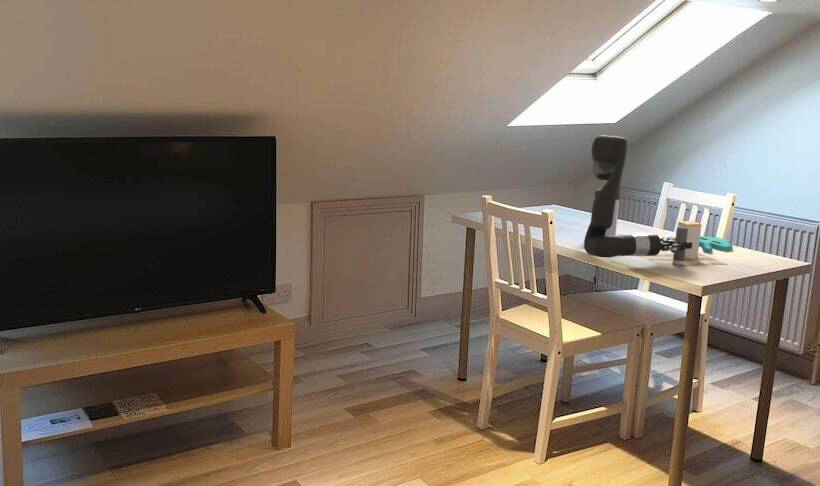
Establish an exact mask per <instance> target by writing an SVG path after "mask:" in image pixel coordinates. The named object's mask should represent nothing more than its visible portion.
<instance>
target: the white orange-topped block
mask: <svg viewBox="0 0 820 486" xmlns="http://www.w3.org/2000/svg"><path fill="white" fill-rule="evenodd" d="M677 222H678V223H677V227H685V228H688V233H687V241H686V242H692V248H691V249H686V250H685V257H698V253H699V247H700V246H699V241H700V236H701V232H702V223H701V222H696V221H693V220H690V221H689V220H686V221H682V220H681V221H677Z"/></svg>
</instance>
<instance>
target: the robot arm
mask: <svg viewBox="0 0 820 486" xmlns="http://www.w3.org/2000/svg"><path fill="white" fill-rule="evenodd" d="M627 152H628V140H627V138H626V137H623V136H616V135H605V134H601V135H597V136H596V137H595V138H594V140H593V141H592V145H591V158H592V161H593V166H592V172H593V176H594V177H595V178H596V179H597V180H601V181H606V182H605V184H604V185H603V186H602V187H600V188H598V189H597V188H596V190H595V191H594V200H593V202H592V209H591V215H590V216H591V217H590V223H589V225H588V227H587V231H586V232H585V233H586V234H585V236H584V241H583V246H584V250H585V252H586V253H587V254H588V255H589V256H593V257H597V258H605V259H606V258H614V257H627V256H628V257H642V256H656V255H658V254H660V252H671V253H675V252H681V251H684V249H691V248H692V242H676V241H675V240H674V239H673V238H672V239H670V238H669V237H670V236H667V237H664V236H659V235H658V234H657V233H653V232H651V233H633V234H619V235H617V224H618V216H619V215H618V214H619V203H620V193H621V185H622V177H623V172H624V168H625V163H626V159H627Z"/></svg>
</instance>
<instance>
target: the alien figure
mask: <svg viewBox="0 0 820 486" xmlns="http://www.w3.org/2000/svg"><path fill="white" fill-rule="evenodd" d="M668 237H669V238H670V239H672V238H673V239H674V240H675V239H676V237H673V236H668ZM699 247H701V249H702V252H703V253H706V254H711V253H713V250H714V249H715V250H718V251H722V252H729V251H728V250H731V251H733V247H734V246H733V243H732V242H731V240H729V239H724V238H721V237H717V236H714V237H712V236H702V235H700V241H699Z"/></svg>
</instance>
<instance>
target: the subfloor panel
mask: <svg viewBox="0 0 820 486" xmlns="http://www.w3.org/2000/svg"><path fill="white" fill-rule="evenodd" d="M673 256H674V253H672V252H671V253H658V255H656V256H641V257H642V258H644V259H646V260H648V261H651V262H653V263H655V264H656V265H659V266H662V267H664V268H665V267H666V268H667V267H670V268H671V267H690V266H691V267H694V266H695V267H699V266H700V267H701V266H725V265H726V266H728V265H729V264H728V263H725V262H723V261H720V260H718V259H715V258H713V257H710V256H709V255H705V254H703V253H700V252H698V257H685V258H684V265H682V266H680V265H674V264H672V262H673Z"/></svg>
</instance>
